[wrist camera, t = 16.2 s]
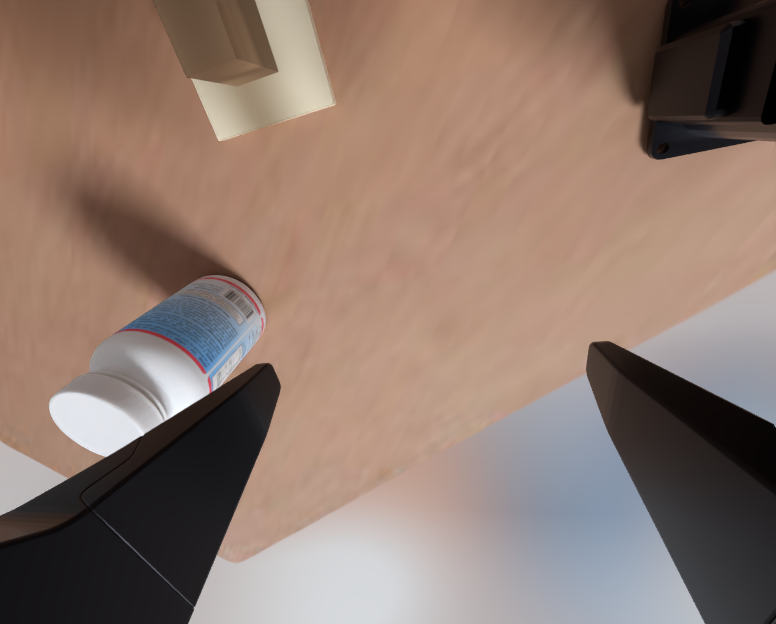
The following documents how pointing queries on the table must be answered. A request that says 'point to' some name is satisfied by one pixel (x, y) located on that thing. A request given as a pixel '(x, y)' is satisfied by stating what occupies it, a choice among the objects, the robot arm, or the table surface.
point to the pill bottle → (160, 364)
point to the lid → (249, 60)
